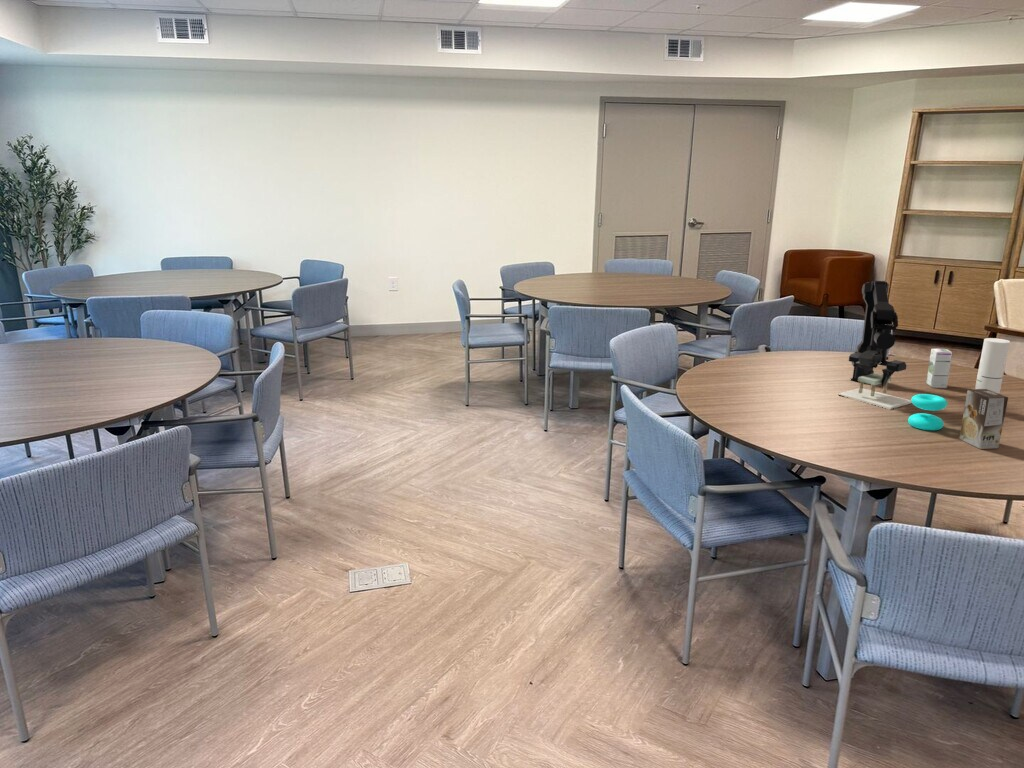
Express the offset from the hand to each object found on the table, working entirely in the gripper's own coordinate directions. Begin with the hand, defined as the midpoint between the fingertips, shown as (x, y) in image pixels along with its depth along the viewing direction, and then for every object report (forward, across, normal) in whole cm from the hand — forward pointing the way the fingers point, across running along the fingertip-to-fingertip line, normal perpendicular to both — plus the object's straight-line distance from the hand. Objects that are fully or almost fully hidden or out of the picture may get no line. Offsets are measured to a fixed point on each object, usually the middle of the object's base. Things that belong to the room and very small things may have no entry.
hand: (873, 384), depth 248 cm
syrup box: (+6, +4, +36) cm, 37 cm away
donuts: (+6, +27, -14) cm, 31 cm away
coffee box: (+6, +44, -16) cm, 47 cm away
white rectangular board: (+6, +1, 0) cm, 6 cm away
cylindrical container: (+6, +29, +19) cm, 35 cm away
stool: (+3, 0, 0) cm, 3 cm away
